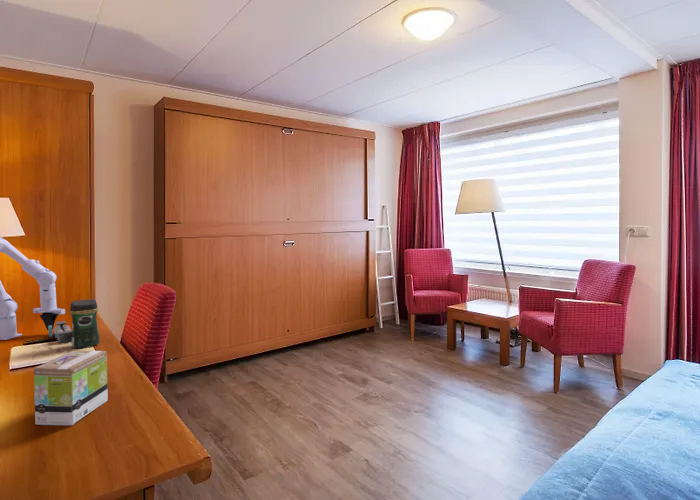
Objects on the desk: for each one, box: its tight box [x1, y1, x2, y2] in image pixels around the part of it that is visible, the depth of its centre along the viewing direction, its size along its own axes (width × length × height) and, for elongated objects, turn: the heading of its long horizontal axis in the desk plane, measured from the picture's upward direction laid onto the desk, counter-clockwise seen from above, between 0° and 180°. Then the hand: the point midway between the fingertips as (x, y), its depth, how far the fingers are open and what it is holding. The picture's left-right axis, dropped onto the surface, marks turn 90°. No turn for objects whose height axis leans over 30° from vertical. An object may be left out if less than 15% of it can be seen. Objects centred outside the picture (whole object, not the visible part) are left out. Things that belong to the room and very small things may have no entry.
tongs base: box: [60, 324, 72, 344], centre depth 182 cm, size 20×4×4 cm, turn 38°
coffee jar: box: [69, 298, 101, 349], centre depth 170 cm, size 10×8×19 cm
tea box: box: [33, 350, 109, 426], centre depth 112 cm, size 15×10×15 cm
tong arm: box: [53, 320, 67, 345], centre depth 182 cm, size 21×4×5 cm, turn 41°
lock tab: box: [47, 325, 54, 338], centre depth 184 cm, size 4×1×4 cm, turn 38°
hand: (50, 329), depth 187 cm, fingers closed
